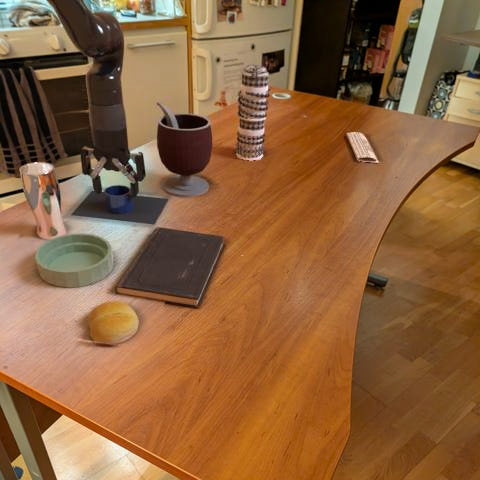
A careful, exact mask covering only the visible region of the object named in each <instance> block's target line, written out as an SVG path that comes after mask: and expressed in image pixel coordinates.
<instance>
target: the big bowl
mask: <svg viewBox="0 0 480 480" xmlns="http://www.w3.org/2000/svg"><path fill="white" fill-rule="evenodd" d="M112 247H113V246H112V244H110V242H109V241H108V240H107V239H105V238H104V237H102V236H99V235H96V234H93V233H87V232H86V233H85V232H79V233H77V232H76V233H66V234H65V235H62V236H58V237H55V238H53V239H50V240H49V239H47V241H45V242H43V243H42V244H40V246H39V247H37V249H36V251H35V254H34V260H35V263H36V267H37V271H38V274H39V276H40V278H41V279H42V281H44V282H45V283H47V284H49V285H52V286H55V287H60V288H68V289H69V288H81V287H84V286H89V285H93V284H96V283H97V282H100V281H102V280H104V278H106V277H107V276H108V275H110V274H111V272H112V271H113V269H114V255H113V248H112Z"/></svg>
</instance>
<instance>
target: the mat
mask: <svg viewBox="0 0 480 480" xmlns="http://www.w3.org/2000/svg"><path fill="white" fill-rule="evenodd" d="M132 201H133V209H132V211H130V212H128V213H125V214H112V213H110V212H108V211H107V208H106V202H105V196H104V191H102V192H101V193H100V194H96V191H94V190H91V191H90V192H89V194H88V195H86V197H85V198H84V199H83V200H82V201H81V202H80V203H79V204H78V205H77V207H75V209H74V210H73V211H72V213H71V214H70V216H74V217H83V218H91V219H101V220H108V221H109V220H110V221H117V222H125V223H126V222H127V223H135V224H144V225H155V224H156V223H157V221H158V219H159V217H160V215H161V213H162V212H163V210H164V208H165V206H166V205H167V203H168V201H169V198H164V197H157V196H156V197H155V196H149V195H148V196H146V195H139V194H138V195H137V196H136V197H135V198H132Z"/></svg>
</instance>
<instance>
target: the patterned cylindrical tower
mask: <svg viewBox="0 0 480 480" xmlns="http://www.w3.org/2000/svg"><path fill="white" fill-rule="evenodd" d="M240 73H241V83H240V86H239V87H240V90H239V91H238V94H237V96H238V98H237V102H238V106H237V117H238V118H239V121H238V123H239V125H238V129H237V130H238V131H237V132H236V135H237V137H236V141H237V142H236V144H235V146H236V148H235V151H236V153H235V156H236V155H237V156H236V158H238V159H240V160H242V159H243V161H247V160H249V161H248V162H254V161H253V160H256V161H260V160H262V159H263V158H262V157H264V151H265V150H264V149H265V145H264V143H265V140H266V139H265V136H266V133H265V130H266V129H265V128H266V127H265V121H266V119H267V116H268V114H267V113H266V111H268V110H269V107H268V106H267V105H269V100H267V99H268V98H269V97H270V96H271V95H270V93H269V92H270V91H271V89H270V88H269V76H270V72H269V71H268V70H267V68H266V67H265V66H264V65H260V64H248V65H246V66H245V67H244V68H243V70H241V71H240ZM261 158H262V159H261Z"/></svg>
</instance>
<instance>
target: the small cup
mask: <svg viewBox="0 0 480 480" xmlns="http://www.w3.org/2000/svg"><path fill="white" fill-rule="evenodd" d="M103 192H104V196H105V202H106V208H107V211H108V212H110V213H112V214H125V213H128V212H130V211H132V209H133V201H132V198H131V189H130V186H127V185H123V184H113V185H109V186H107V187H105V189H104V190H103Z"/></svg>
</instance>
